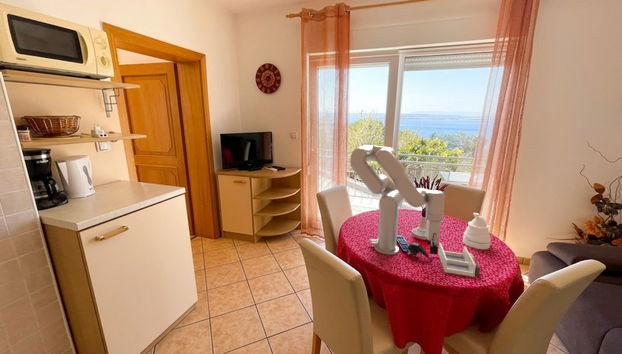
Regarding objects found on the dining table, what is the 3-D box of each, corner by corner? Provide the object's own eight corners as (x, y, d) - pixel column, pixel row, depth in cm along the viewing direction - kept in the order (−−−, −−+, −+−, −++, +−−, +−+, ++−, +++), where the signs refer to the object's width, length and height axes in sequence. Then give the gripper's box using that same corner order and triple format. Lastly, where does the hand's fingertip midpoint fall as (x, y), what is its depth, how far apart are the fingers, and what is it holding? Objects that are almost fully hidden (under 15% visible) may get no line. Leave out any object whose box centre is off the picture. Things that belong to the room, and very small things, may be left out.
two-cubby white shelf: (444, 272, 114) (446, 260, 113) (438, 253, 130) (439, 243, 129) (473, 277, 110) (475, 264, 109) (463, 257, 127) (465, 246, 125)
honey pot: (463, 246, 139) (467, 215, 135) (462, 237, 150) (465, 209, 146) (491, 251, 133) (496, 220, 129) (487, 241, 144) (492, 212, 140)
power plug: (431, 262, 120) (413, 242, 125) (420, 270, 125) (402, 250, 129) (434, 257, 125) (416, 238, 129) (423, 265, 129) (406, 246, 133)
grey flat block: (475, 275, 112) (477, 267, 111) (472, 269, 116) (473, 261, 116) (478, 275, 111) (480, 267, 111) (475, 269, 116) (476, 262, 115)
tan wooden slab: (470, 265, 120) (471, 257, 119) (467, 260, 124) (468, 252, 124) (473, 265, 119) (474, 258, 119) (470, 260, 124) (471, 253, 123)
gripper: (423, 209, 128) (422, 240, 131) (428, 221, 112) (425, 256, 115) (439, 211, 126) (437, 242, 129) (446, 223, 110) (443, 258, 113)
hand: (432, 249), depth 122 cm, fingers open, 9 cm apart
